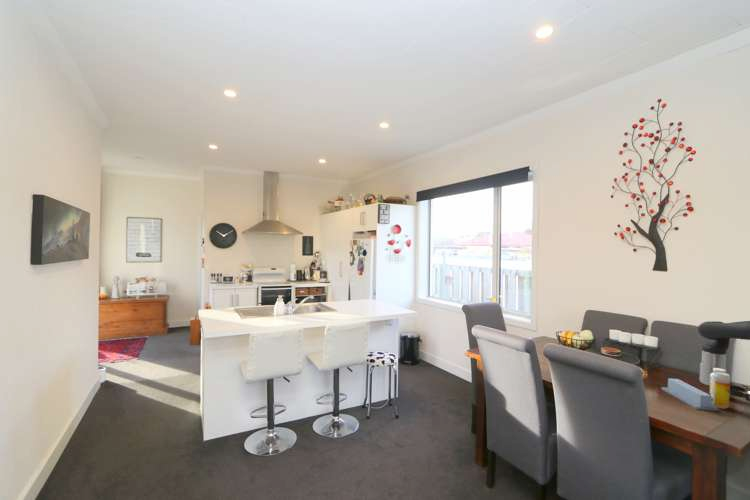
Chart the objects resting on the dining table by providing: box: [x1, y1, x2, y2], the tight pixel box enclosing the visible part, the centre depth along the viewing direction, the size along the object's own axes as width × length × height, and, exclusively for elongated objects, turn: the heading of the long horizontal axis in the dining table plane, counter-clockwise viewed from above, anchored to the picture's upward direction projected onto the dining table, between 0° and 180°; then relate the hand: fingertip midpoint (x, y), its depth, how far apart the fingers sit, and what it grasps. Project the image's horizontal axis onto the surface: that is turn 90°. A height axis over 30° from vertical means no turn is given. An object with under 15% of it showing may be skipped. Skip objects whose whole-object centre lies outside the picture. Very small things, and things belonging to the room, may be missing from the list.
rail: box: [661, 378, 720, 412], centre depth 169 cm, size 22×9×6 cm, turn 175°
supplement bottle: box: [709, 368, 727, 395], centre depth 174 cm, size 7×7×13 cm
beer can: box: [710, 371, 731, 410], centre depth 162 cm, size 6×6×15 cm
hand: (729, 389), depth 160 cm, fingers open, 8 cm apart
